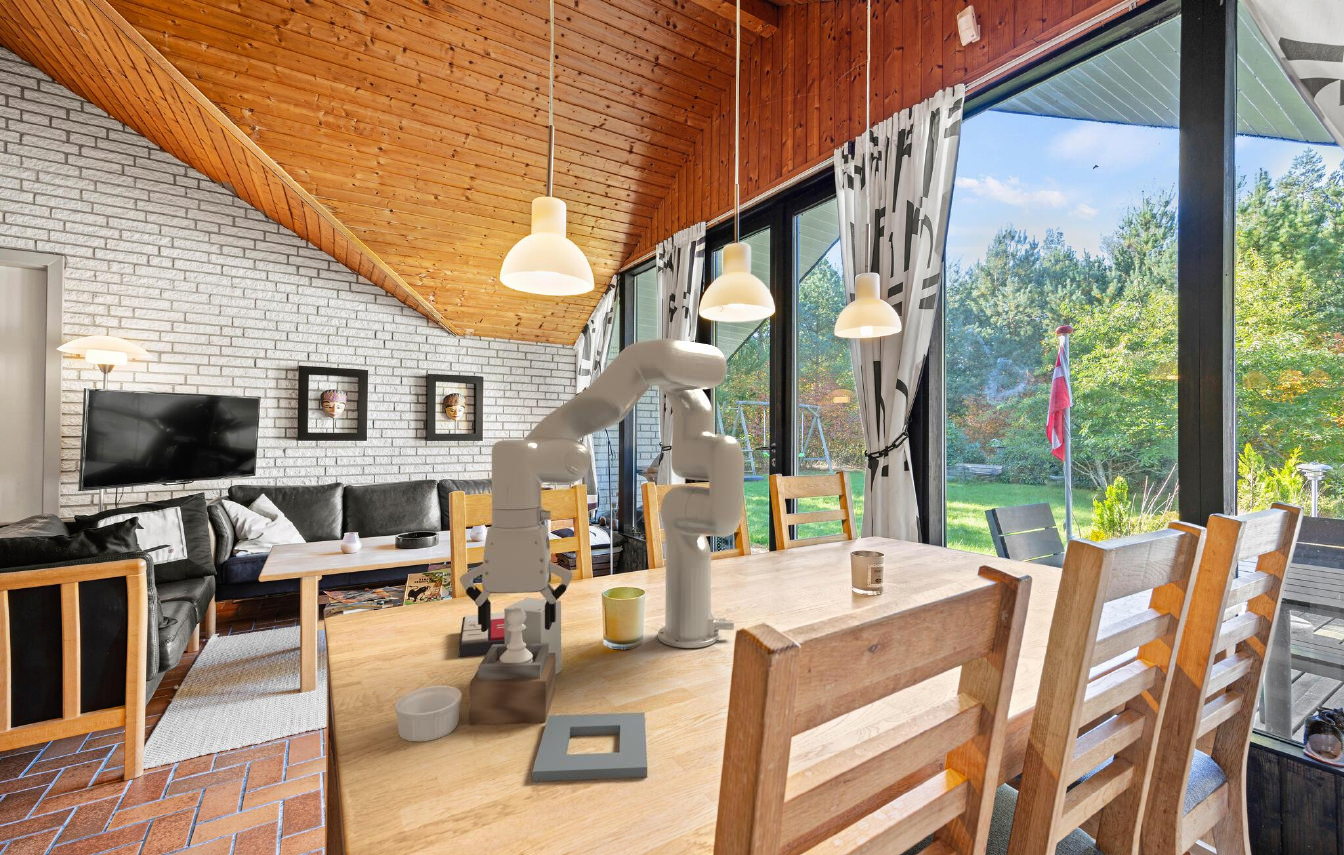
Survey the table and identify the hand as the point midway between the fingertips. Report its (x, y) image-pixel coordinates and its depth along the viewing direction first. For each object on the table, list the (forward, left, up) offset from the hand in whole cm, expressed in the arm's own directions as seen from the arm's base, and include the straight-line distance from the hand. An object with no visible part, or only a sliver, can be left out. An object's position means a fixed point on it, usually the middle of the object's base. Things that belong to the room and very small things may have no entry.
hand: (517, 627), depth 89 cm
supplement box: (-1, -11, -12) cm, 16 cm away
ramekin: (+11, +6, -12) cm, 18 cm away
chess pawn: (0, 0, -6) cm, 6 cm away
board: (-13, +13, -12) cm, 22 cm away
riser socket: (0, 0, -12) cm, 12 cm away
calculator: (+11, -29, -13) cm, 33 cm away
